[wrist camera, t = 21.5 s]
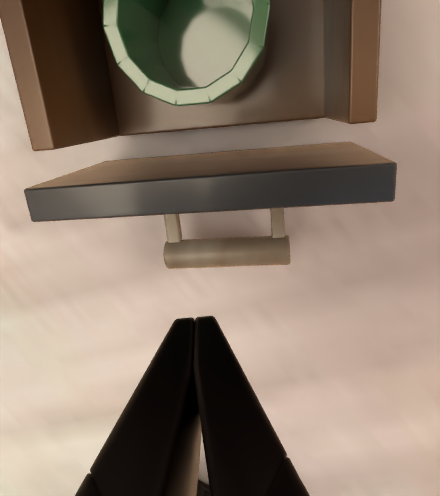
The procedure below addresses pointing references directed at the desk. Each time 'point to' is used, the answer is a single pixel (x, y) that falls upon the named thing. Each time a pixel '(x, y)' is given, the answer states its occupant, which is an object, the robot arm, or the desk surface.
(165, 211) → the drawer
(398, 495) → the desk surface
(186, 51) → the pot
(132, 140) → the desk surface
